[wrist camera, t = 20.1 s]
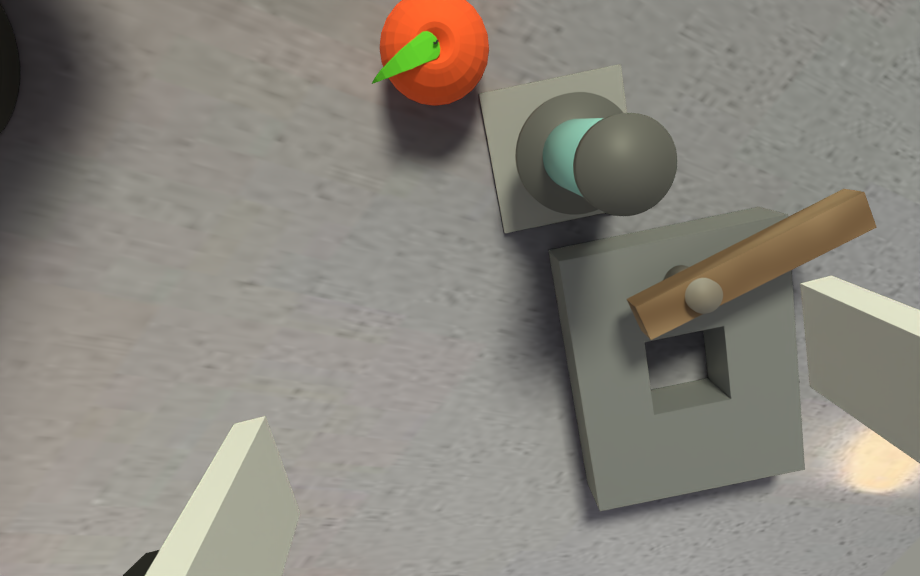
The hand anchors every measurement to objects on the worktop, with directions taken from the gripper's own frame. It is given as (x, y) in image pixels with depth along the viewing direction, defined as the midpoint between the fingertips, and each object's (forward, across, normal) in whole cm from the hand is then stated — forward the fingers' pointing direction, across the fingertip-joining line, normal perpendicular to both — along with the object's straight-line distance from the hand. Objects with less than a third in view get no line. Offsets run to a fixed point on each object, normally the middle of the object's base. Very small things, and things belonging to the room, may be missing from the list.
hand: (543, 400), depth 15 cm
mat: (+32, +8, +2) cm, 33 cm away
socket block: (+32, +13, -15) cm, 38 cm away
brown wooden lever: (+28, +17, -7) cm, 33 cm away
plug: (+32, +8, +2) cm, 33 cm away
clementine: (+33, 0, +10) cm, 34 cm away
